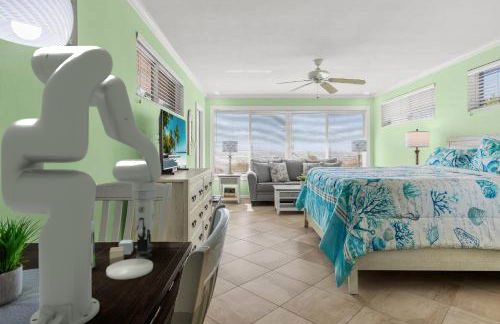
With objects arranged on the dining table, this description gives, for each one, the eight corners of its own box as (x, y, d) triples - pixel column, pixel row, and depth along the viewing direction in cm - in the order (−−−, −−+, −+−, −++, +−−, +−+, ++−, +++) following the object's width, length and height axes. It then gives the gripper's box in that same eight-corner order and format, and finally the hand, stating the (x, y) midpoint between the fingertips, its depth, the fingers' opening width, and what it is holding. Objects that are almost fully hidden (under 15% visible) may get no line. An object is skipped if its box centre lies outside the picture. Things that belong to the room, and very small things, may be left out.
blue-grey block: (130, 254, 102) (130, 243, 102) (118, 255, 101) (118, 243, 101) (133, 250, 106) (133, 239, 106) (121, 251, 105) (121, 240, 105)
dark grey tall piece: (147, 259, 97) (147, 223, 96) (131, 258, 97) (131, 223, 97) (156, 253, 102) (156, 220, 102) (140, 252, 103) (140, 219, 103)
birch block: (123, 262, 94) (123, 250, 94) (109, 264, 93) (109, 251, 93) (123, 258, 98) (123, 246, 98) (110, 259, 97) (110, 247, 97)
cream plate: (149, 277, 83) (149, 273, 82) (100, 280, 80) (100, 276, 80) (155, 261, 95) (155, 257, 95) (113, 263, 93) (113, 259, 93)
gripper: (151, 199, 92) (151, 255, 92) (158, 192, 109) (158, 240, 109) (126, 199, 90) (126, 257, 91) (137, 192, 107) (137, 240, 108)
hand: (144, 247), depth 100 cm, fingers closed on dark grey tall piece, 5 cm apart
